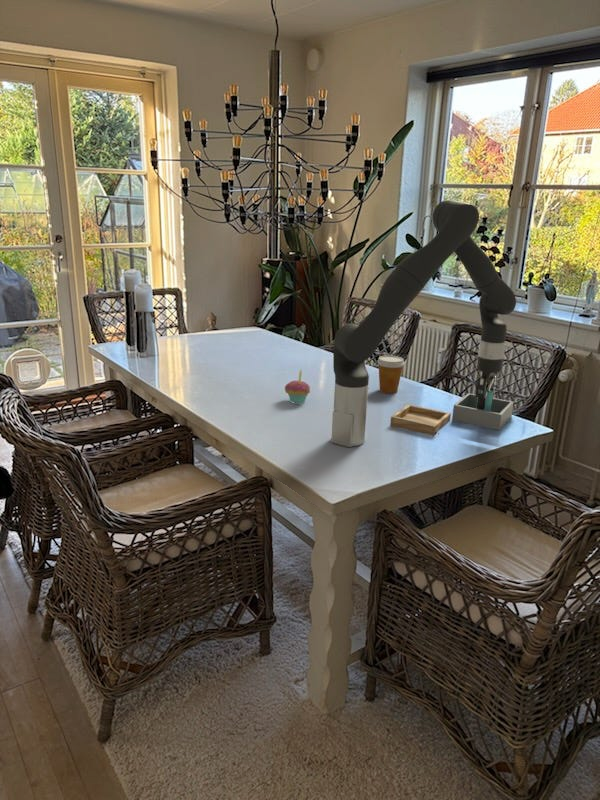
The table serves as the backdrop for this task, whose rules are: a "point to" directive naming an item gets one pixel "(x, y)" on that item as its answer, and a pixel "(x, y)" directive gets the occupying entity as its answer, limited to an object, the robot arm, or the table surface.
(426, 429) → the tray
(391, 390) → the disposable coffee cup
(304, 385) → the cupcake
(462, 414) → the deep bin
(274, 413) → the table surface
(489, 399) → the peg
